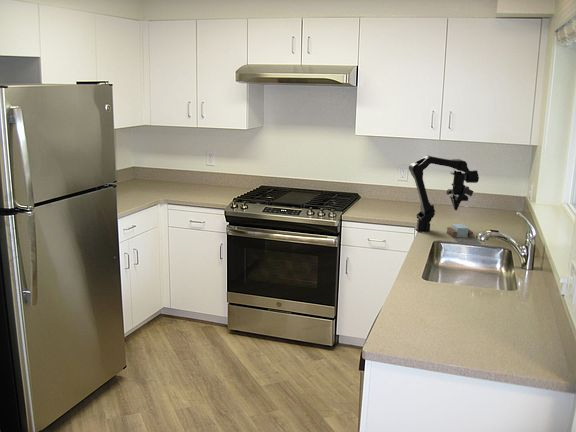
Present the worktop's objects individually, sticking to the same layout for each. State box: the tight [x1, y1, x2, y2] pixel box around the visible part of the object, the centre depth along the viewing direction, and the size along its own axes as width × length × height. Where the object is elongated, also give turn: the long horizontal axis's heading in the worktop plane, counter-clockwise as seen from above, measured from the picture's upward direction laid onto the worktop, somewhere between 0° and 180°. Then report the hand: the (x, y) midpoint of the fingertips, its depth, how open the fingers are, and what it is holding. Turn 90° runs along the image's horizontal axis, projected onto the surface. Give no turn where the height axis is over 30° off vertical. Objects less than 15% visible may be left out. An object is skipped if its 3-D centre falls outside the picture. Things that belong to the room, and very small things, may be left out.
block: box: [451, 223, 470, 237], centre depth 326 cm, size 6×8×5 cm
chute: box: [446, 226, 474, 238], centre depth 326 cm, size 12×10×3 cm
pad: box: [451, 237, 482, 245], centre depth 316 cm, size 12×12×1 cm
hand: (455, 210), depth 333 cm, fingers closed
